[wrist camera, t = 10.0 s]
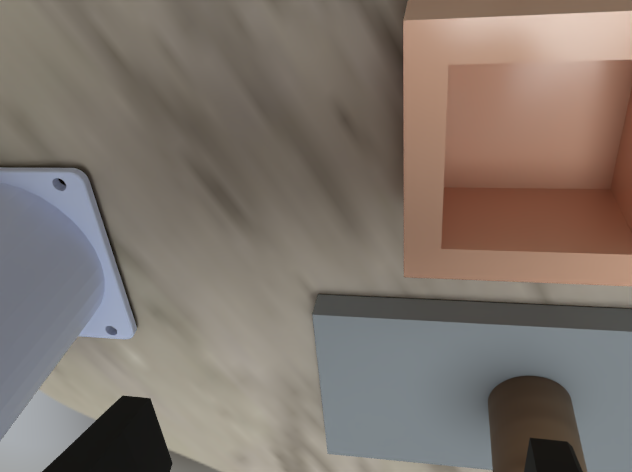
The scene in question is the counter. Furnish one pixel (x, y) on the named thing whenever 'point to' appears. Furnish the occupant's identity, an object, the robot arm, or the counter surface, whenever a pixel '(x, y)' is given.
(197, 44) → the counter surface
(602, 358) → the board
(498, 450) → the peg
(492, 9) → the square hollow frame
